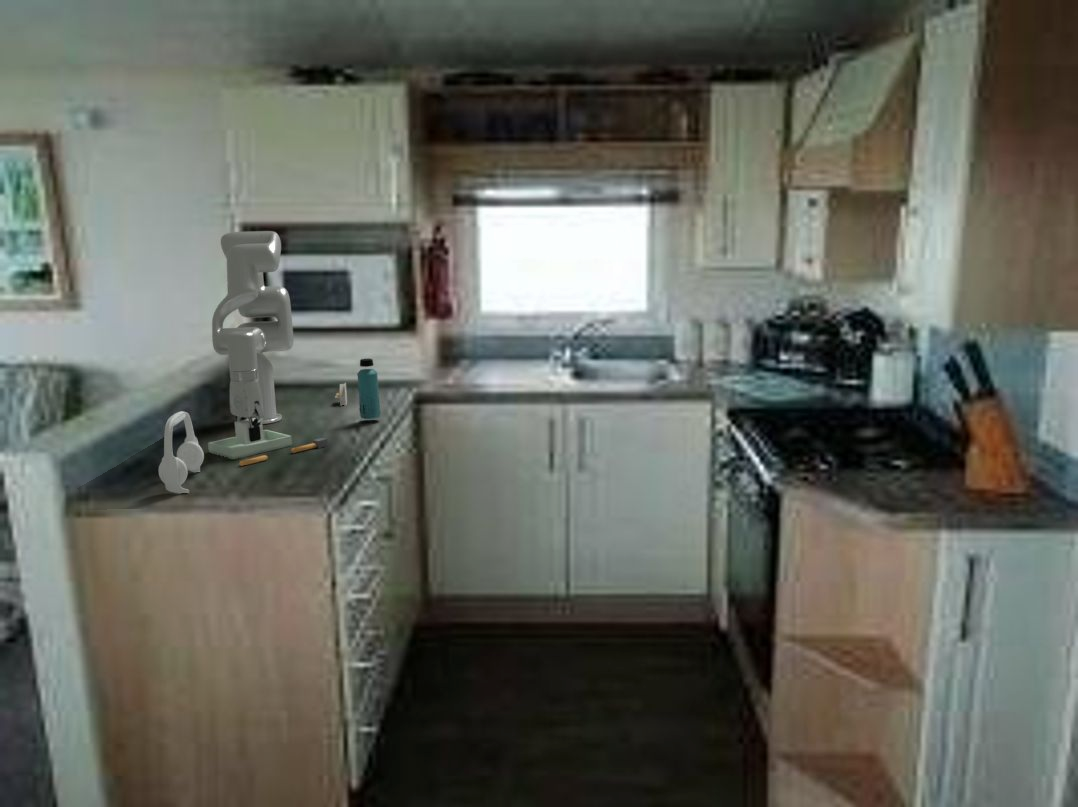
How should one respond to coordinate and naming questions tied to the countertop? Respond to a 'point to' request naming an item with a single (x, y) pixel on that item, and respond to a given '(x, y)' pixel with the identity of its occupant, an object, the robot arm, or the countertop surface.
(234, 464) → the countertop surface
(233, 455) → the tray
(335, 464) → the countertop surface
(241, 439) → the pale grey cuboid
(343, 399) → the architectural model
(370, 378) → the beverage bottle
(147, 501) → the countertop surface
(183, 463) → the headset
